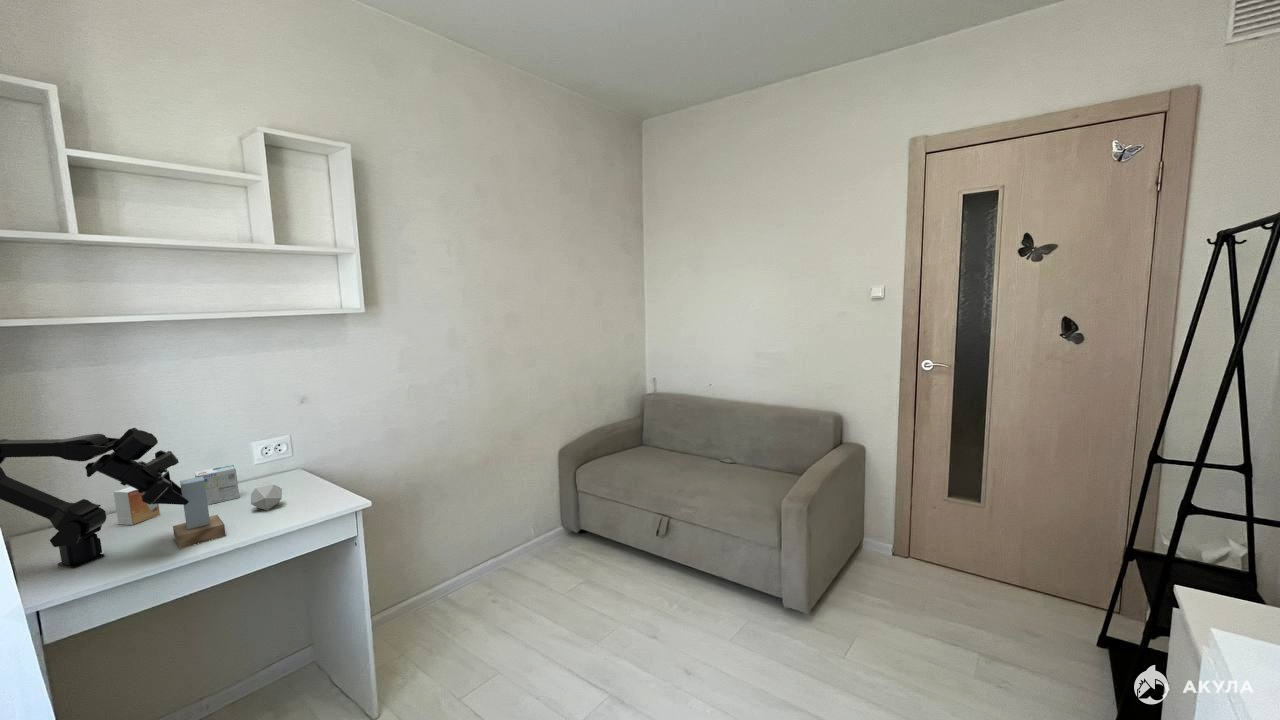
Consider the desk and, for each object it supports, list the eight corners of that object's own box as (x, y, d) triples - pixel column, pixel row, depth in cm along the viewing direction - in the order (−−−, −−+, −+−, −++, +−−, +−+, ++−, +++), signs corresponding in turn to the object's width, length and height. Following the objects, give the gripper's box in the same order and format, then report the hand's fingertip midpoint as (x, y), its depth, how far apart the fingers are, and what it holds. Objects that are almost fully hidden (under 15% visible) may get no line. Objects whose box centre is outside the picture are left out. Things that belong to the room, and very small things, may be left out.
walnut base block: (180, 550, 142) (178, 536, 142) (174, 539, 149) (172, 526, 148) (225, 537, 150) (224, 524, 149) (218, 527, 156) (217, 514, 156)
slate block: (187, 529, 145) (180, 484, 144) (186, 524, 149) (179, 480, 148) (210, 524, 149) (204, 480, 147) (208, 519, 152) (202, 476, 151)
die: (289, 507, 171) (287, 479, 175) (268, 504, 163) (266, 475, 167) (266, 516, 171) (265, 488, 175) (244, 513, 163) (243, 484, 167)
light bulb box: (237, 492, 183) (233, 463, 182) (240, 497, 178) (236, 467, 177) (197, 501, 175) (193, 470, 174) (199, 507, 171) (195, 475, 169)
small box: (132, 525, 157) (126, 492, 156) (117, 524, 159) (112, 491, 157) (161, 514, 165) (156, 483, 164) (147, 513, 166) (142, 482, 165)
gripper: (153, 452, 134) (213, 482, 143) (151, 438, 147) (206, 466, 156) (114, 489, 130) (179, 518, 139) (116, 472, 143) (174, 499, 152)
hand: (186, 498), depth 146 cm, fingers open, 9 cm apart
